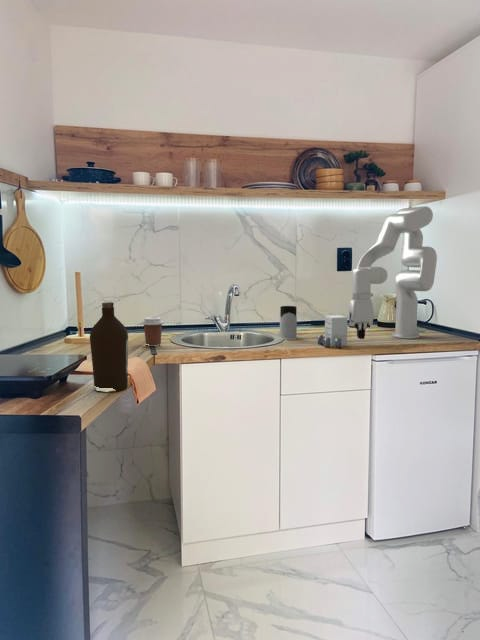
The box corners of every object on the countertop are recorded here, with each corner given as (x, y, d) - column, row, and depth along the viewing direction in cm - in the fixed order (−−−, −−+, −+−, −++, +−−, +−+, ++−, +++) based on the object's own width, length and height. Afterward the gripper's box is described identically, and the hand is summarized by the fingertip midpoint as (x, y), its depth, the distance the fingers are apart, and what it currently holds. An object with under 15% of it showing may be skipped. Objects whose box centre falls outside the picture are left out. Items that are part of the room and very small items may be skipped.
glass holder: (279, 340, 215) (279, 307, 213) (277, 335, 229) (277, 304, 227) (298, 340, 215) (298, 307, 213) (295, 335, 229) (295, 304, 227)
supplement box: (339, 343, 207) (340, 314, 205) (347, 346, 199) (348, 316, 198) (324, 344, 205) (324, 315, 203) (331, 347, 198) (331, 317, 196)
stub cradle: (327, 342, 209) (327, 333, 208) (342, 348, 194) (342, 339, 194) (314, 342, 207) (314, 334, 207) (328, 349, 193) (328, 339, 193)
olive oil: (97, 395, 129) (93, 305, 125) (88, 386, 138) (84, 302, 135) (134, 390, 134) (131, 303, 131) (123, 381, 143) (120, 300, 140)
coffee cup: (141, 344, 206) (140, 317, 204) (161, 342, 209) (161, 316, 207) (144, 347, 197) (143, 319, 196) (166, 346, 200) (165, 318, 199)
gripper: (372, 295, 207) (372, 335, 210) (341, 296, 204) (341, 338, 206) (381, 296, 200) (380, 338, 202) (349, 298, 196) (349, 341, 199)
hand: (361, 338), depth 204 cm, fingers closed
